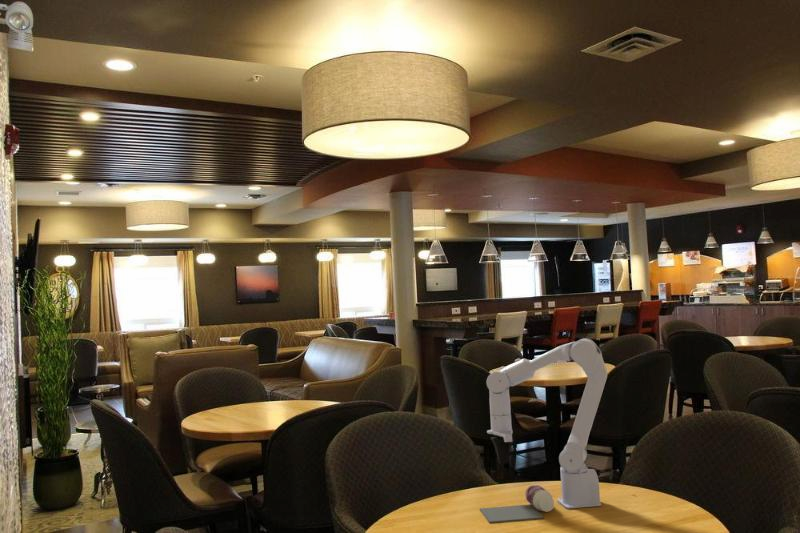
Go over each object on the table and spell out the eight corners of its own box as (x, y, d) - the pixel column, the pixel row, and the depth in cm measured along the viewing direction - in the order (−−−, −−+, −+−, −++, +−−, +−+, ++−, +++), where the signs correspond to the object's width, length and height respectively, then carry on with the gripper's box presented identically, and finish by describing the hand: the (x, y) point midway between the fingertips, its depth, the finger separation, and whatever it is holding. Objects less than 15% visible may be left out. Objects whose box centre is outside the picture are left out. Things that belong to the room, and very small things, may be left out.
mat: (530, 505, 179) (530, 504, 179) (544, 518, 168) (544, 516, 168) (479, 510, 177) (479, 508, 177) (489, 523, 166) (489, 521, 166)
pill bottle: (532, 479, 181) (545, 488, 171) (547, 491, 181) (561, 500, 172) (520, 496, 180) (533, 506, 170) (535, 508, 180) (549, 518, 171)
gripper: (480, 411, 194) (483, 458, 193) (492, 419, 179) (495, 470, 179) (504, 409, 195) (507, 456, 194) (518, 417, 180) (521, 468, 179)
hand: (503, 463), depth 186 cm, fingers closed
